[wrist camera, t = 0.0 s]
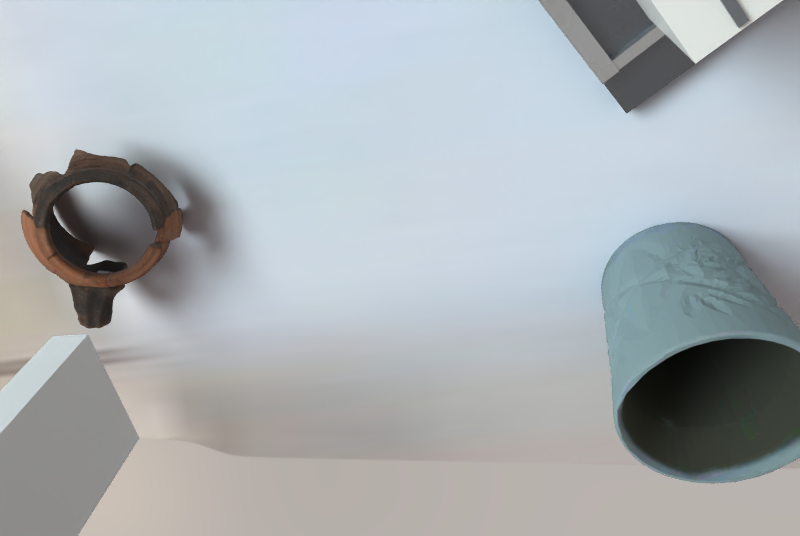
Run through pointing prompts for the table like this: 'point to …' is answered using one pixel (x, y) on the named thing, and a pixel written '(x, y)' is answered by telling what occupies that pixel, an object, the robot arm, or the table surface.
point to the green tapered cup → (699, 358)
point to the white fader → (703, 21)
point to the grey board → (620, 46)
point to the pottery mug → (71, 255)
